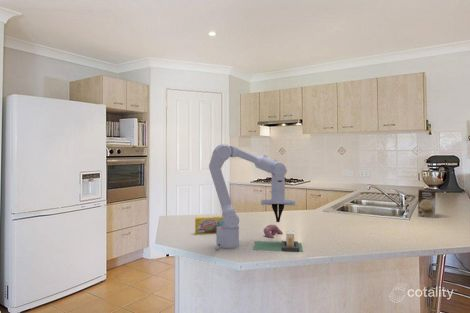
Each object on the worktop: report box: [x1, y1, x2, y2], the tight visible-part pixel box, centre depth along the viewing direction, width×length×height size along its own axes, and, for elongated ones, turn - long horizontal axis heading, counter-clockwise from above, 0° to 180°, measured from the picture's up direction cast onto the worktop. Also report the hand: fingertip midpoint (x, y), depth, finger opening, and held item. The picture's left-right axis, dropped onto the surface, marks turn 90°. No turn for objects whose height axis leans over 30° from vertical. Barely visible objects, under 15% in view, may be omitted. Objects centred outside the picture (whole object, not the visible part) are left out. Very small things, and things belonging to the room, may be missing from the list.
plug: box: [285, 230, 295, 247], centre depth 127 cm, size 3×5×6 cm, turn 172°
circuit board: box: [252, 240, 304, 253], centre depth 130 cm, size 20×12×1 cm, turn 82°
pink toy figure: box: [263, 224, 284, 239], centre depth 146 cm, size 10×5×7 cm, turn 142°
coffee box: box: [417, 189, 436, 219], centre depth 190 cm, size 9×6×16 cm
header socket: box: [281, 240, 300, 253], centre depth 127 cm, size 7×9×2 cm
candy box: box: [194, 215, 224, 235], centre depth 154 cm, size 16×2×8 cm, turn 101°
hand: (278, 221), depth 134 cm, fingers closed
